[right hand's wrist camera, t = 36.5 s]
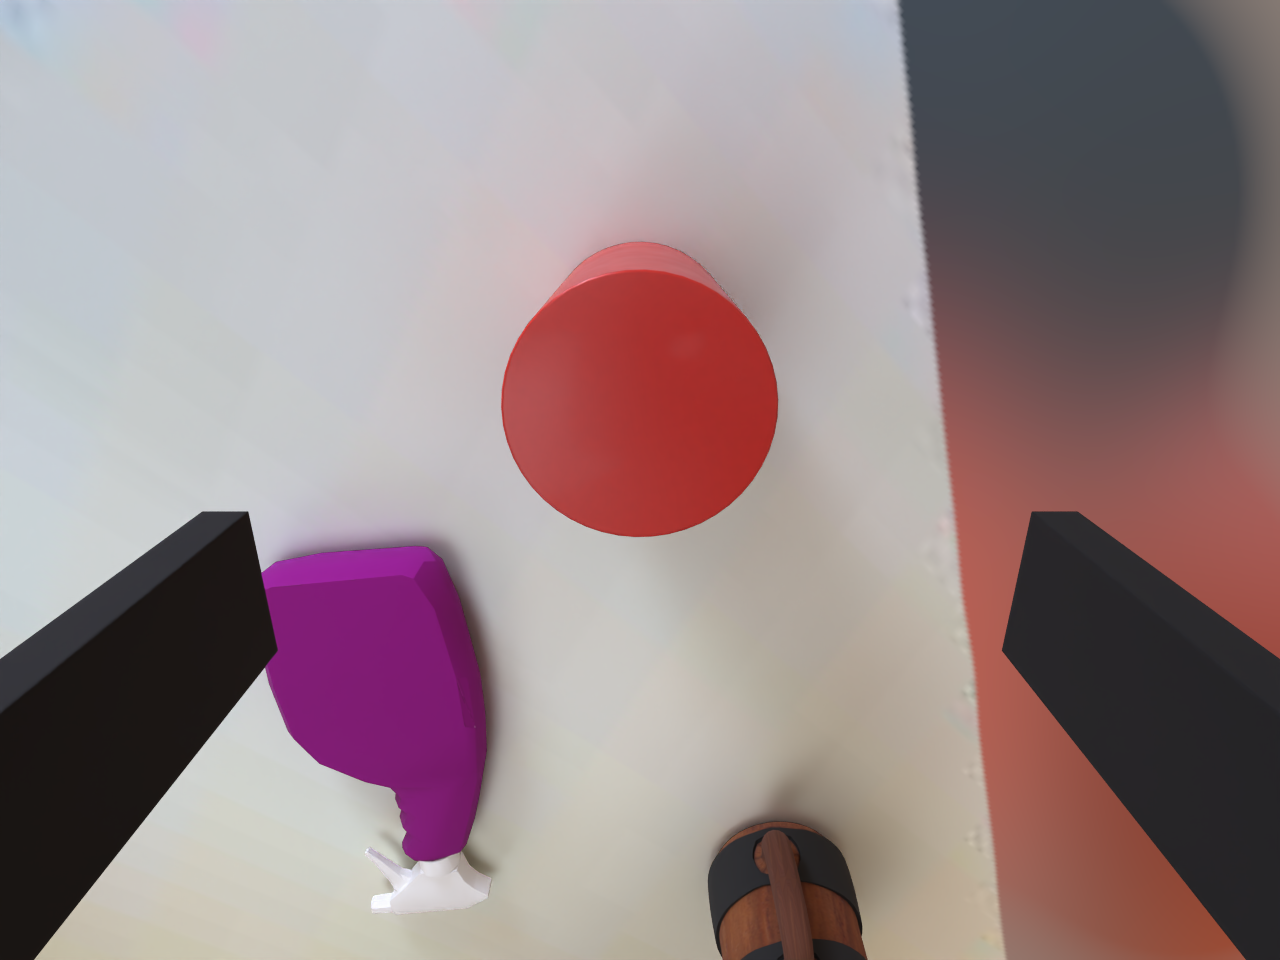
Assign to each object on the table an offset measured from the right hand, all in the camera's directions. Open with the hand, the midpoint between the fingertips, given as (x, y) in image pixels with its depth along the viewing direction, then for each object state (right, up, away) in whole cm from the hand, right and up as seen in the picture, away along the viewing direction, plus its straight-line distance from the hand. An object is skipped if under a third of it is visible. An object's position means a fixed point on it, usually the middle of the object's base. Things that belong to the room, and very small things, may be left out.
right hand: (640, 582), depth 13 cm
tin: (0, +8, +21) cm, 23 cm away
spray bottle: (-14, -13, +30) cm, 35 cm away
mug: (+8, -21, +33) cm, 40 cm away
